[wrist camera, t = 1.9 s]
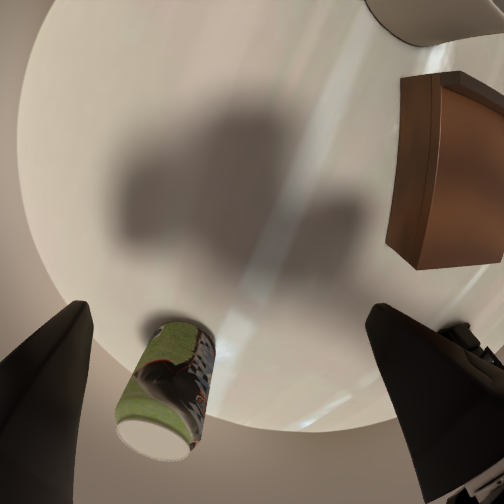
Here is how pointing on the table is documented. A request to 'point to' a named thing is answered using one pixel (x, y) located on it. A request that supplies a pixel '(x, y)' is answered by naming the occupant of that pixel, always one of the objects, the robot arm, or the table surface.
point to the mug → (439, 19)
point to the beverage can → (168, 393)
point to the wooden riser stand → (449, 173)
